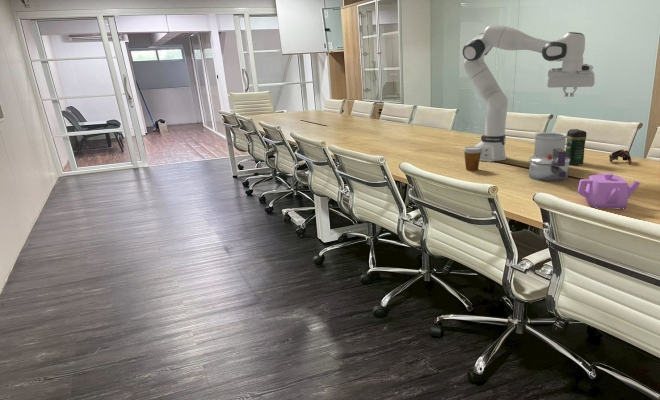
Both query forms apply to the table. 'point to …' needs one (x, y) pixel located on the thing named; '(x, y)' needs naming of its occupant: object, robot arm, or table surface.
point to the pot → (548, 172)
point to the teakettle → (606, 190)
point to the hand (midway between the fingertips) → (569, 96)
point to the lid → (552, 158)
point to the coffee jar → (575, 146)
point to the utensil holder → (549, 142)
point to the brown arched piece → (622, 154)
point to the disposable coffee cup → (472, 157)
